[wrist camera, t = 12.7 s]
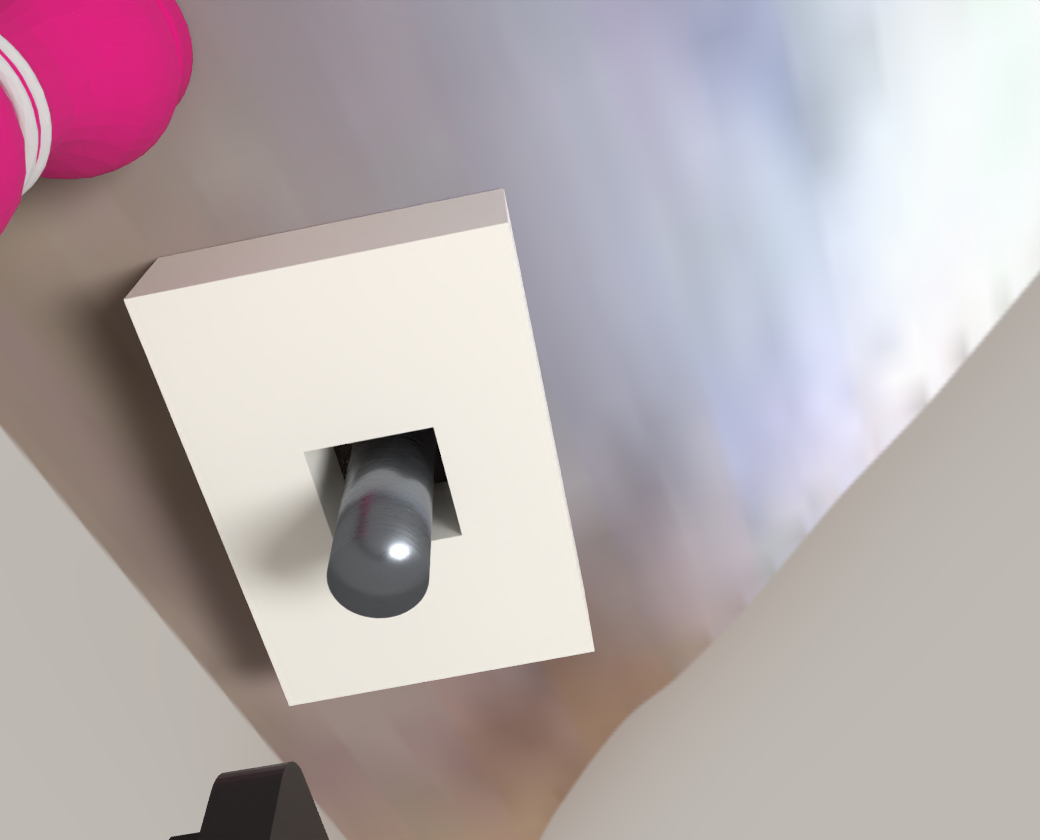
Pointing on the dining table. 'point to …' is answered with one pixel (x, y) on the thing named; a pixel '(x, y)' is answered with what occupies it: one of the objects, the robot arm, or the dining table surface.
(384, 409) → the hole block
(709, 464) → the dining table surface
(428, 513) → the peg
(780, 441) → the dining table surface
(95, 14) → the pepper mill
